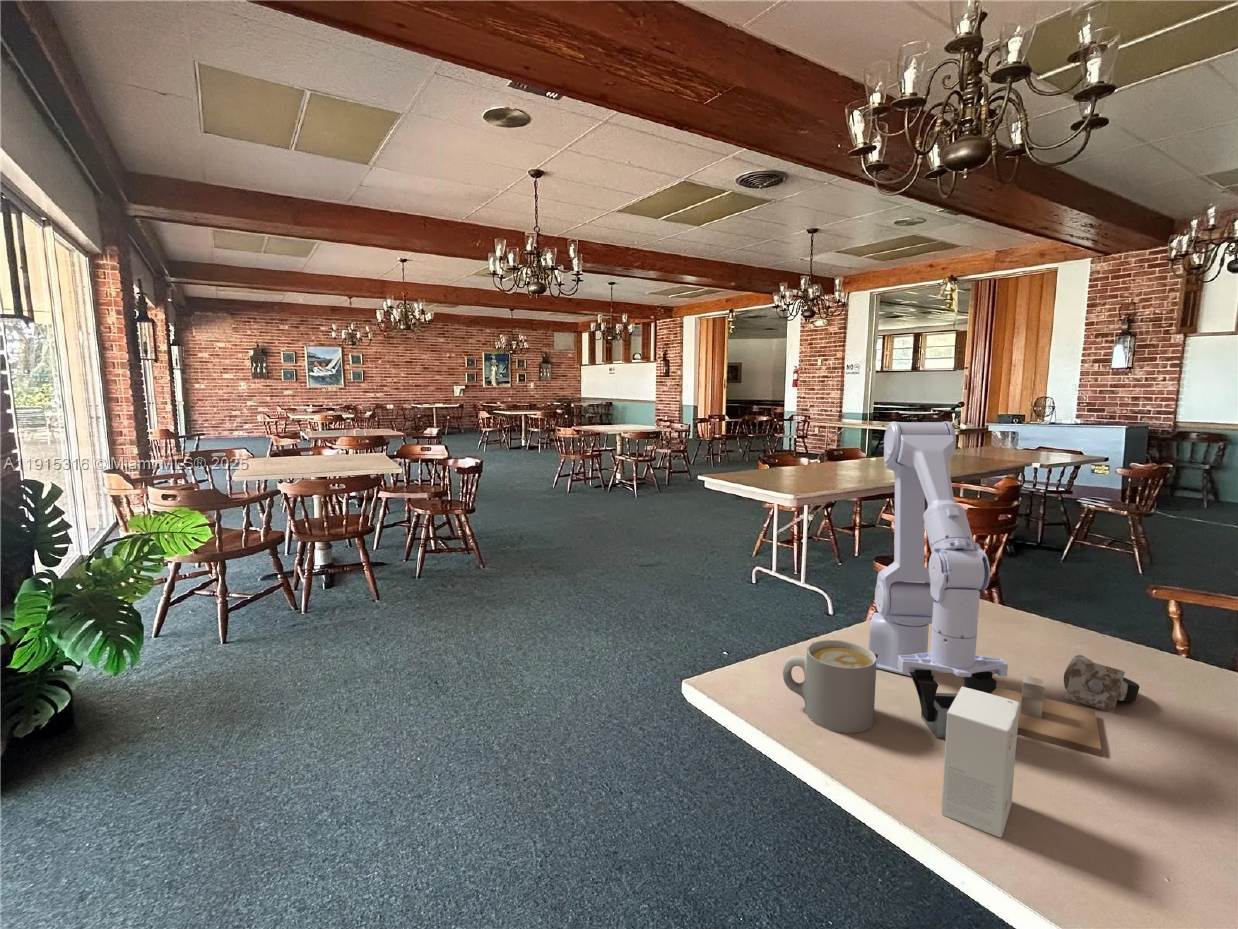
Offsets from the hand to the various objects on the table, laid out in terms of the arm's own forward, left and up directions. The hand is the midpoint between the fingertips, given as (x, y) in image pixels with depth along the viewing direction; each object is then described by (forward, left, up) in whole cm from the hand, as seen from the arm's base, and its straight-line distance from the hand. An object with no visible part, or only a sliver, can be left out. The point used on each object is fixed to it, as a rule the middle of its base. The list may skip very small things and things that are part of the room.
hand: (948, 718), depth 89 cm
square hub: (0, 0, -1) cm, 1 cm away
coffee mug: (-16, -5, -2) cm, 17 cm away
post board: (+10, +10, -2) cm, 14 cm away
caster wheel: (+19, +24, -2) cm, 30 cm away
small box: (+5, -17, -2) cm, 18 cm away
